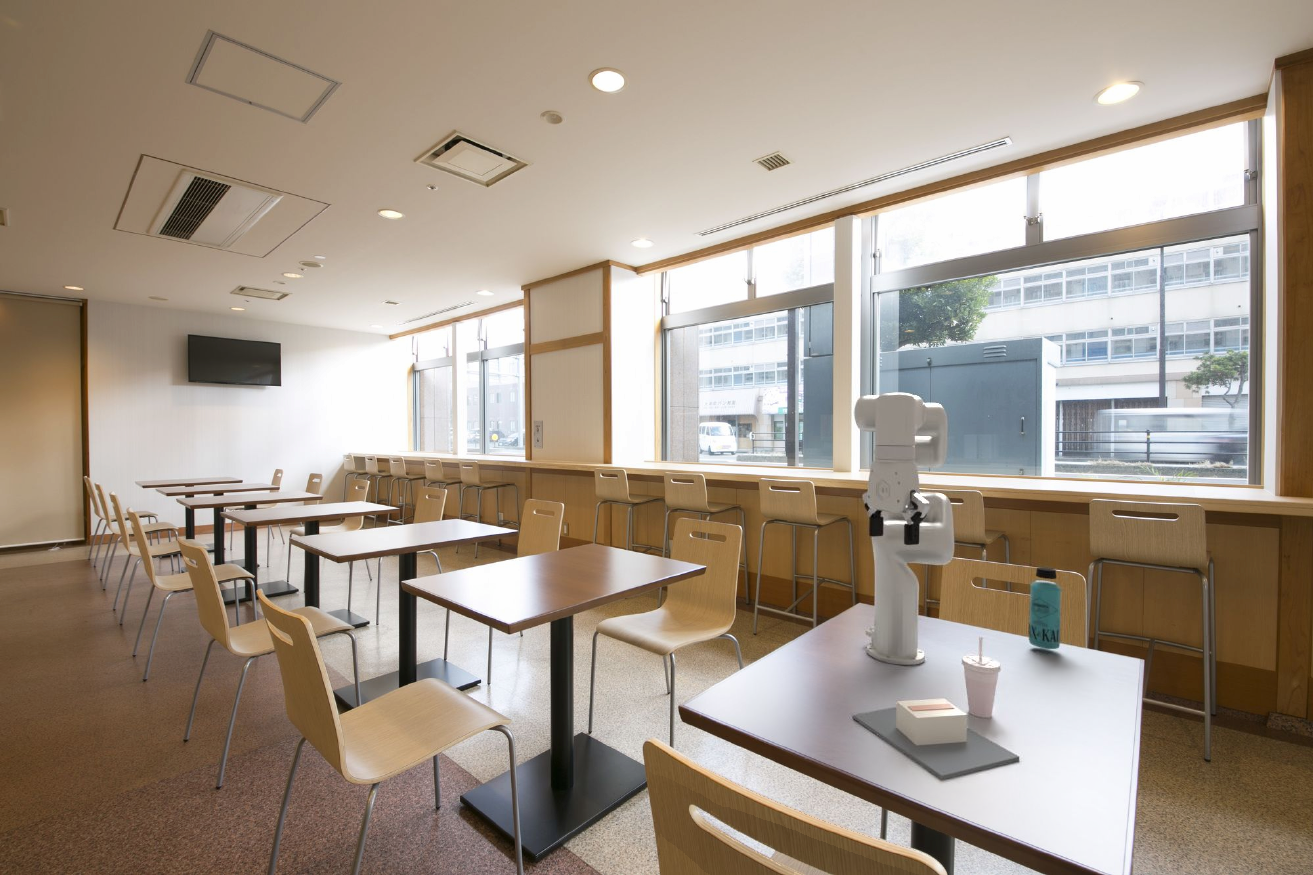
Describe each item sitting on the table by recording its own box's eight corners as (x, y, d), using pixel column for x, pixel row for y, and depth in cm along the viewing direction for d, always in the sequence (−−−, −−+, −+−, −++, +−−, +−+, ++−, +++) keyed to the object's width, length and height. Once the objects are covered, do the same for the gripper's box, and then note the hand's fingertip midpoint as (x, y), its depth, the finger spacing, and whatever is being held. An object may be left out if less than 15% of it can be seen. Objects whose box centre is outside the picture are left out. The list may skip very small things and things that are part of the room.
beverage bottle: (1028, 643, 146) (1030, 563, 146) (1061, 650, 142) (1062, 567, 142) (1027, 651, 141) (1028, 568, 141) (1060, 658, 137) (1062, 572, 137)
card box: (943, 723, 103) (943, 697, 103) (966, 741, 97) (966, 713, 97) (896, 727, 102) (896, 700, 102) (916, 745, 96) (917, 716, 96)
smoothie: (995, 708, 111) (997, 634, 111) (1003, 724, 105) (1005, 645, 105) (958, 702, 113) (959, 630, 113) (963, 717, 107) (965, 641, 107)
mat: (852, 718, 106) (852, 714, 106) (921, 705, 112) (921, 702, 112) (941, 779, 87) (941, 775, 87) (1019, 760, 93) (1019, 756, 93)
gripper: (850, 453, 124) (849, 534, 124) (912, 456, 108) (911, 549, 108) (879, 453, 127) (877, 532, 127) (943, 456, 111) (942, 547, 111)
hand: (893, 540), depth 118 cm, fingers open, 9 cm apart
